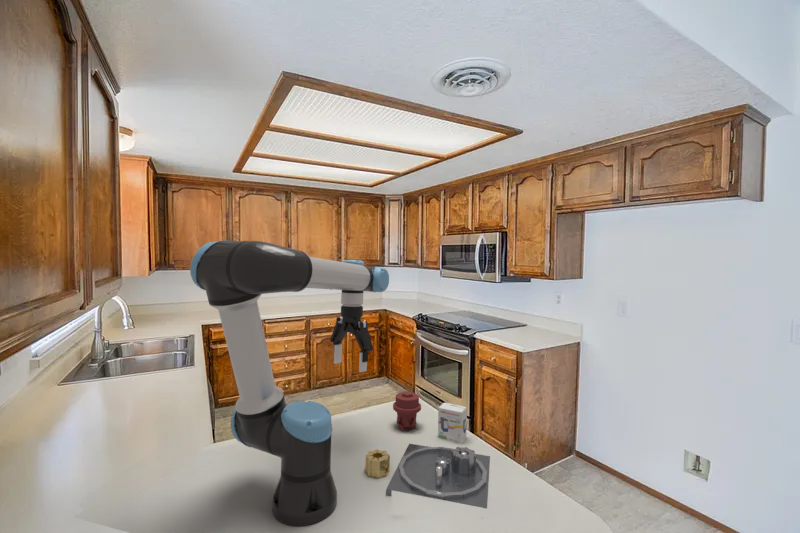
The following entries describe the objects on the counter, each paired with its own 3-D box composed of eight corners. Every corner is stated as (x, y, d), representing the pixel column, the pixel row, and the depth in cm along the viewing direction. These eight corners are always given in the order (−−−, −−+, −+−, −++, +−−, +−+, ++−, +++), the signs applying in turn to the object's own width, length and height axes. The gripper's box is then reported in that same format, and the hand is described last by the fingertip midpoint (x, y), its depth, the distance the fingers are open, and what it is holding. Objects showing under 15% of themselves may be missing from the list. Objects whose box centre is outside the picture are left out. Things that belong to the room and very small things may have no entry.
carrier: (486, 514, 90) (487, 489, 90) (386, 494, 96) (386, 471, 96) (489, 461, 114) (490, 441, 114) (409, 448, 121) (409, 429, 120)
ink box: (466, 442, 126) (467, 406, 126) (461, 448, 121) (462, 412, 121) (442, 435, 130) (443, 401, 130) (436, 442, 125) (437, 406, 125)
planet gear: (384, 479, 103) (385, 463, 103) (362, 475, 105) (362, 459, 105) (391, 467, 109) (392, 451, 109) (370, 463, 111) (370, 448, 111)
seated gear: (477, 475, 104) (478, 459, 103) (453, 474, 104) (453, 458, 103) (472, 462, 110) (473, 447, 110) (450, 462, 110) (450, 446, 110)
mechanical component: (394, 420, 141) (421, 422, 140) (390, 432, 131) (419, 434, 130) (395, 387, 141) (422, 389, 140) (391, 397, 131) (420, 398, 130)
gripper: (385, 308, 124) (382, 373, 124) (338, 301, 141) (336, 358, 141) (368, 309, 119) (365, 377, 119) (321, 302, 136) (319, 361, 136)
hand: (349, 367), depth 130 cm, fingers open, 13 cm apart
